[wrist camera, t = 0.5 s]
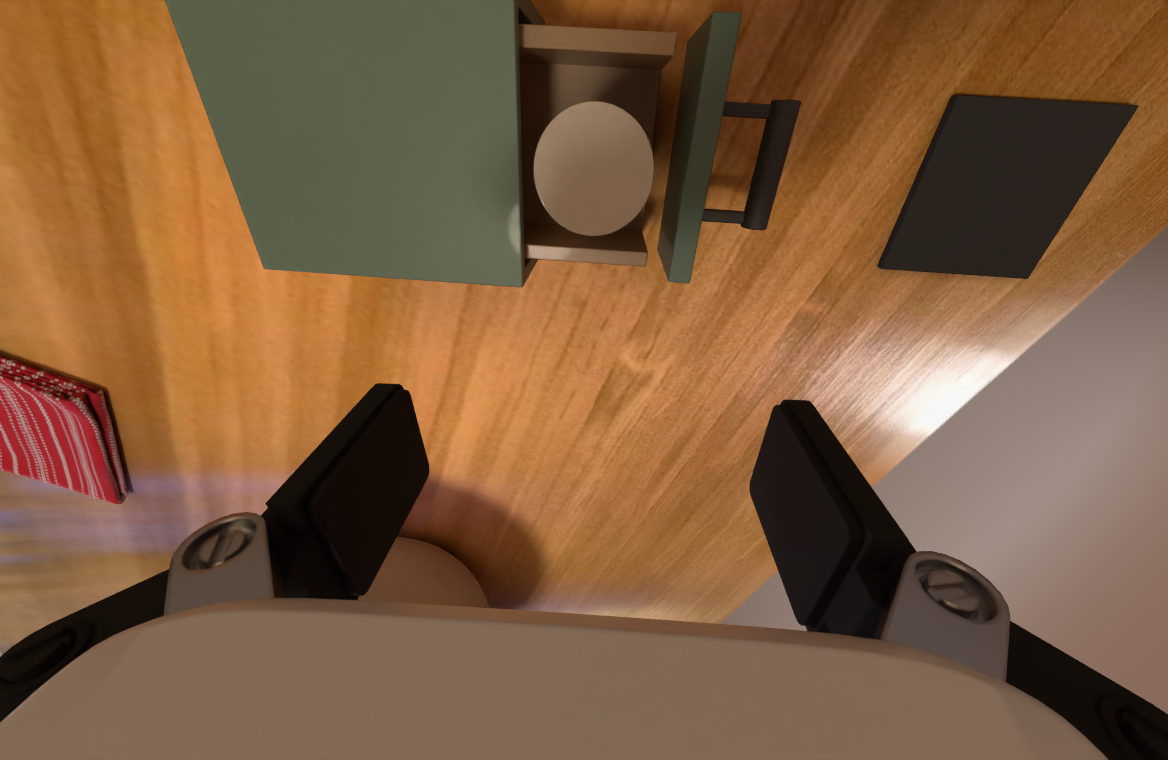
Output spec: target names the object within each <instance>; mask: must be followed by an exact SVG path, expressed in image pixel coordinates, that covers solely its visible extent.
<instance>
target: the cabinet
mask: <svg viewBox="0 0 1168 760" xmlns="http://www.w3.org/2000/svg"><path fill="white" fill-rule="evenodd" d="M165 2H166V4H167V7H168V10H169V12H170V15H171V18H172V21H173V23H174V26H175V29H176V31H177V34H178V37H179V40H180V42H181V45H182V48H183V50H184V53H185V56H186V59H187V61H188V64H189V67H190V69H191V72H192V75H193V78H194V80H195V83H196V86H197V88H198V91H199V94H200V97H201V99H202V102H203V105H204V107H205V110H206V113H207V116H208V118H209V121H210V124H211V126H212V129H213V132H214V135H215V137H216V140H217V143H218V145H219V148H220V151H221V154H222V156H223V159H224V162H225V165H226V167H227V170H228V173H229V175H230V178H231V181H232V184H233V186H234V189H235V192H236V194H237V197H238V200H239V203H240V205H241V208H242V211H243V213H244V216H245V219H246V222H247V224H248V227H249V230H250V232H251V235H252V238H253V241H254V243H255V246H256V249H257V251H258V254H259V257H260V260H261V262H262V265H263V268H264V269H271V270H285V271H299V272H313V273H327V274H341V275H355V276H369V277H383V278H397V279H411V280H425V281H439V282H453V283H467V284H481V285H495V286H509V287H523V285H524V284H525V282H526V280H527V278H528V276H529V275H530V273H531V271H532V269H533V268H534V266H535V264H536V262H537V260H538V259H528V258H524V222H523V183H522V144H521V105H520V66H519V28H518V24H533V25H545V21H544V20H543V18H542V16H541V15H540V13H539V12H538V11H537V9H536V8H535V6H534V5H533V3H532V2H531V0H165Z"/></svg>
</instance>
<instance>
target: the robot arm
mask: <svg viewBox="0 0 1168 760" xmlns="http://www.w3.org/2000/svg"><path fill="white" fill-rule="evenodd" d="M428 475H429V463H428V459H427V456H426V452H425V448H424V444H423V440H422V437H421V433H420V429H419V425H418V422H417V418H416V414H415V410H414V406H413V403H412V399H411V395H410V393H409V391H408V390H404V388H403V387H402V386H401V385H400V384H382V383H378V384H375V385H374V386H373V387H372V388H371V389H370V390H369V391H368V392H367V394H366V395H365V396H364V397H363V398H362V399H361V400H360V401H359V402H358V403H357V404H356V406H355V407H354V408H353V409H352V410H351V411H350V412H349V413H348V414H347V415H346V416H345V417H344V419H343V420H342V421H341V422H340V423H339V424H338V425H337V426H336V427H335V428H334V429H333V431H332V432H331V433H330V434H329V435H328V436H327V437H326V438H325V439H324V440H323V441H322V443H321V444H320V445H319V446H318V447H317V448H316V449H315V450H314V451H313V452H312V453H311V454H310V456H309V457H308V458H307V459H306V460H305V461H304V462H303V463H302V464H301V465H300V466H299V468H298V469H297V470H296V471H295V472H294V473H293V474H292V475H291V476H290V477H289V478H288V480H287V481H286V482H285V483H284V484H283V485H282V486H281V487H280V488H279V489H278V490H277V492H276V493H275V494H274V495H273V496H272V497H271V498H270V499H269V500H268V501H267V502H266V505H267V507H268V508H267V510H266V511H265V512H264V513H263V514H262V515H261V516H260V515H258V514H256V513H249V512H243V513H235V514H231V515H228V516H225V517H221V518H219V519H217V520H215V521H212V522H210V523H208V524H206V525H205V526H203V527H201V528H200V529H198V530H197V531H195V532H194V533H192V534H191V535H190V536H189V537H188V538H187V539H186V540H184V541H183V542H182V543H181V545H180V546H179V547H178V548H177V550H176V551H175V552H174V554H173V557H172V559H171V562H170V568H169V569H168V570H166V571H164V572H162V573H159V574H157V575H155V576H153V577H151V578H149V579H146V580H144V581H142V582H140V583H138V584H136V585H133V586H131V587H129V588H127V589H125V590H123V591H120V592H118V593H116V594H114V595H112V596H109V597H107V598H105V599H103V600H101V601H99V602H96V603H94V604H92V605H90V606H88V607H86V608H83V609H81V610H79V611H77V612H75V613H73V614H70V615H68V616H66V617H64V618H62V619H59V620H57V621H55V622H53V623H51V624H49V625H47V626H45V627H43V628H41V629H39V630H38V631H36V632H34V633H32V634H30V635H29V636H27V637H26V638H24V639H23V640H21V641H20V642H19V643H17V644H16V645H14V646H13V647H11V648H10V649H9V650H8V651H7V652H5V653H4V654H3V655H2V656H1V657H0V760H1168V714H1166V713H1165V712H1163V711H1162V710H1160V709H1159V708H1157V707H1156V706H1154V705H1153V704H1151V703H1149V702H1148V701H1146V700H1144V699H1143V698H1141V697H1139V696H1137V695H1136V694H1134V693H1132V692H1131V691H1129V690H1127V689H1126V688H1124V687H1122V686H1120V685H1119V684H1117V683H1115V682H1114V681H1112V680H1110V679H1109V678H1107V677H1105V676H1103V675H1102V674H1100V673H1098V672H1097V671H1095V670H1093V669H1091V668H1090V667H1088V666H1086V665H1085V664H1083V663H1081V662H1079V661H1078V660H1076V659H1074V658H1073V657H1071V656H1069V655H1068V654H1066V653H1064V652H1062V651H1061V650H1059V649H1057V648H1056V647H1054V646H1052V645H1051V644H1049V643H1047V642H1045V641H1043V640H1042V639H1040V638H1039V637H1037V636H1035V635H1033V634H1032V633H1030V632H1028V631H1027V630H1025V629H1023V628H1022V627H1020V626H1018V625H1016V624H1015V623H1013V622H1011V621H1010V613H1009V608H1008V605H1007V603H1006V601H1005V600H1004V598H1003V596H1002V594H1001V593H1000V592H999V591H998V590H997V589H996V588H995V586H994V585H993V584H992V583H991V582H990V581H989V580H988V579H986V578H985V577H984V576H983V575H981V574H980V573H979V572H978V571H977V570H975V569H973V568H972V567H970V566H968V565H967V564H965V563H963V562H962V561H960V560H957V559H955V558H953V557H950V556H948V555H945V554H941V553H937V552H932V551H919V552H916V550H915V549H914V547H913V546H912V545H911V543H910V542H909V540H908V538H907V537H906V536H905V534H904V533H903V531H902V530H901V529H900V527H899V526H898V524H897V523H896V521H895V520H894V519H893V517H892V516H891V514H890V513H889V511H888V510H887V509H886V507H885V506H884V504H883V503H882V502H881V500H880V499H879V497H878V496H877V495H876V493H875V492H874V490H873V489H872V487H871V486H870V485H869V483H868V482H867V480H866V479H865V478H864V476H863V475H862V473H861V472H860V470H859V469H858V468H857V466H856V465H855V463H854V462H853V461H852V459H851V458H850V456H849V455H848V454H847V452H846V451H845V449H844V448H843V446H842V445H841V444H840V442H839V441H838V439H837V438H836V437H835V435H834V434H833V432H832V431H831V430H830V428H829V427H828V425H827V424H826V422H825V421H824V420H823V418H822V417H821V415H820V414H819V413H818V411H817V410H816V408H815V407H814V405H813V404H812V403H811V402H810V401H806V400H783V401H782V402H781V404H780V405H776V406H774V407H773V410H772V413H771V416H770V419H769V423H768V426H767V429H766V432H765V435H764V439H763V442H762V445H761V448H760V451H759V455H758V458H757V461H756V464H755V468H754V471H753V474H752V477H751V480H750V494H751V498H752V500H753V503H754V506H755V508H756V511H757V514H758V517H759V519H760V522H761V525H762V528H763V530H764V533H765V536H766V538H767V541H768V544H769V547H770V549H771V552H772V555H773V557H774V560H775V563H776V566H777V568H778V571H779V574H780V577H781V579H782V582H783V585H784V587H785V590H786V593H787V596H788V598H789V601H790V603H791V606H792V609H793V612H794V615H795V617H796V619H797V621H798V623H799V624H800V625H804V626H806V628H807V631H797V630H786V629H775V628H764V627H752V626H739V625H725V624H711V623H697V622H684V621H670V620H656V619H642V618H628V617H613V616H599V615H584V614H569V613H554V612H539V611H524V610H509V609H494V608H478V607H462V606H446V605H430V604H413V603H397V602H381V601H361V600H358V598H359V596H363V595H365V594H366V593H367V592H368V590H369V589H370V587H371V585H372V583H373V581H374V579H375V577H376V575H377V574H378V572H379V570H380V568H381V566H382V564H383V562H384V560H385V558H386V556H387V555H388V553H389V551H390V549H391V547H392V545H393V543H394V541H395V539H396V537H397V536H398V534H399V532H400V530H401V528H402V526H403V524H404V522H405V520H406V518H407V517H408V515H409V513H410V511H411V509H412V507H413V505H414V503H415V501H416V499H417V498H418V496H419V494H420V492H421V490H422V488H423V486H424V484H425V482H426V480H427V478H428Z"/></svg>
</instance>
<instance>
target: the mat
mask: <svg viewBox="0 0 1168 760" xmlns="http://www.w3.org/2000/svg"><path fill="white" fill-rule="evenodd" d="M1137 108H1138V105H1123V104H1106V103H1089V102H1071V101H1054V100H1037V99H1020V98H1003V97H985V96H968V95H953V96H952V97H951V99H950V101H949V103H948V106H947V108H946V110H945V112H944V115H943V117H942V119H941V122H940V124H939V126H938V128H937V131H936V133H935V135H934V138H933V140H932V142H931V145H930V147H929V149H928V151H927V154H926V156H925V158H924V161H923V163H922V165H921V167H920V170H919V172H918V174H917V177H916V179H915V181H914V184H913V186H912V188H911V190H910V193H909V195H908V197H907V200H906V202H905V204H904V206H903V209H902V211H901V213H900V216H899V218H898V220H897V223H896V225H895V227H894V229H893V232H892V234H891V236H890V239H889V241H888V243H887V245H886V248H885V250H884V252H883V255H882V257H881V259H880V262H879V264H878V267H879V268H881V269H892V270H906V271H921V272H935V273H950V274H964V275H979V276H994V277H1008V278H1023V279H1028V278H1029V276H1030V274H1031V273H1032V271H1033V270H1034V268H1035V267H1036V265H1037V264H1038V262H1039V260H1040V259H1041V257H1042V256H1043V254H1044V253H1045V251H1046V250H1047V248H1048V246H1049V245H1050V243H1051V242H1052V240H1053V239H1054V237H1055V236H1056V234H1057V232H1058V231H1059V229H1060V228H1061V226H1062V225H1063V223H1064V222H1065V220H1066V218H1067V217H1068V215H1069V214H1070V212H1071V211H1072V209H1073V208H1074V206H1075V204H1076V203H1077V201H1078V200H1079V198H1080V197H1081V195H1082V194H1083V192H1084V190H1085V189H1086V187H1087V186H1088V184H1089V183H1090V181H1091V180H1092V178H1093V176H1094V175H1095V173H1096V172H1097V170H1098V169H1099V167H1100V166H1101V164H1102V162H1103V161H1104V159H1105V158H1106V156H1107V155H1108V153H1109V152H1110V150H1111V148H1112V147H1113V145H1114V144H1115V142H1116V141H1117V139H1118V138H1119V136H1120V134H1121V133H1122V131H1123V130H1124V128H1125V127H1126V125H1127V124H1128V122H1129V120H1130V119H1131V117H1132V116H1133V114H1134V113H1135V111H1136V110H1137Z"/></svg>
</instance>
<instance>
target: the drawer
mask: <svg viewBox="0 0 1168 760" xmlns="http://www.w3.org/2000/svg"><path fill="white" fill-rule="evenodd" d="M741 17H742V14H741V13H737V12H718V11H714V12H713V13H712V14H711V15H710V16H709V17H708V19H707V20H706V21H705V22H704V23H703V24H702V25H701V26H700V28H699V29H698V30H697V31H696V32H695V33H694V34H693V35H692V37H691V38H690V39H689V40H688V42H687V49H686V56H685V63H684V70H683V77H682V84H681V91H680V98H679V105H678V111H677V118H676V125H675V132H674V139H673V146H672V153H671V160H670V167H669V174H668V180H667V187H666V194H665V201H664V208H663V215H662V222H661V229H660V236H659V243H658V249H657V250H658V253H659V256H660V258H661V261H662V264H663V267H664V270H665V273H666V276H667V278H668V281H669V282H678V283H689V282H690V279H691V274H692V268H693V263H694V258H695V253H696V248H697V243H698V238H699V232H700V227H701V222H702V221H707V222H722V223H737V224H741V227H743V228H746V229H752V230H765V229H766V228H767V225H768V221H769V217H770V214H771V210H772V206H773V203H774V199H775V196H776V192H777V188H778V185H779V181H780V178H781V174H782V170H783V167H784V163H785V160H786V156H787V152H788V149H789V145H790V141H791V138H792V134H793V131H794V127H795V123H796V120H797V116H798V113H799V109H800V105H801V101H798V100H771V103H770V104H756V103H740V102H725V99H726V94H727V89H728V83H729V78H730V73H731V68H732V63H733V58H734V53H735V47H736V42H737V37H738V32H739V27H740V22H741ZM518 28H519V66H520V105H521V144H522V183H523V222H524V258H528V259H542V260H556V261H571V262H585V263H600V264H614V265H628V266H643V267H645V266H646V264H647V257H648V252H647V248H646V244H645V240H644V237H643V233H642V227H643V219H644V211H645V204H644V206H643V208H642V209H641V211H640V212H639V213H638V215H637V216H636V217H635V218H634V219H633V220H632V221H631V222H629V223H628V224H627V225H626V226H624V227H622V228H621V229H619V230H617V231H615V232H612V233H609V234H606V235H600V236H587V235H581V234H578V233H575V232H572V231H570V230H568V229H566V228H564V227H563V226H561V225H560V224H559V223H557V222H556V221H555V220H554V219H553V218H552V217H551V216H550V214H549V213H548V212H547V211H546V209H545V207H544V206H543V204H542V202H541V200H540V198H539V196H538V193H537V189H536V185H535V180H534V158H535V152H536V149H537V145H538V143H539V140H540V138H541V136H542V134H543V132H544V130H545V129H546V127H547V126H548V125H549V123H550V122H551V121H552V120H553V119H554V118H555V117H556V116H557V115H558V114H560V113H561V112H562V111H564V110H565V109H567V108H569V107H571V106H573V105H576V104H579V103H583V102H588V101H599V102H606V103H610V104H613V105H615V106H617V107H619V108H622V109H623V110H625V111H626V112H627V113H629V114H630V115H631V116H632V117H633V118H634V119H635V120H636V121H637V122H638V123H639V124H640V126H641V127H642V129H643V130H644V132H645V134H646V136H647V138H648V140H649V142H650V146H651V149H652V145H653V137H654V129H655V121H656V113H657V104H658V96H659V88H660V80H661V72H662V69H663V68H664V66H665V65H666V64H667V63H668V62H669V61H670V60H671V58H672V57H673V56H674V54H675V47H676V39H677V33H676V32H660V31H642V30H624V29H606V28H587V27H569V26H551V25H533V24H518ZM722 116H724V117H741V118H758V119H767V120H766V124H765V128H764V132H763V136H762V140H761V144H760V148H759V152H758V157H757V161H756V165H755V169H754V173H753V177H752V181H751V185H750V189H749V193H748V197H747V202H746V206H745V210H744V212H743V211H734V210H719V209H704V207H705V202H706V196H707V191H708V186H709V181H710V176H711V171H712V166H713V160H714V155H715V150H716V145H717V140H718V135H719V130H720V125H721V119H722Z"/></svg>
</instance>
